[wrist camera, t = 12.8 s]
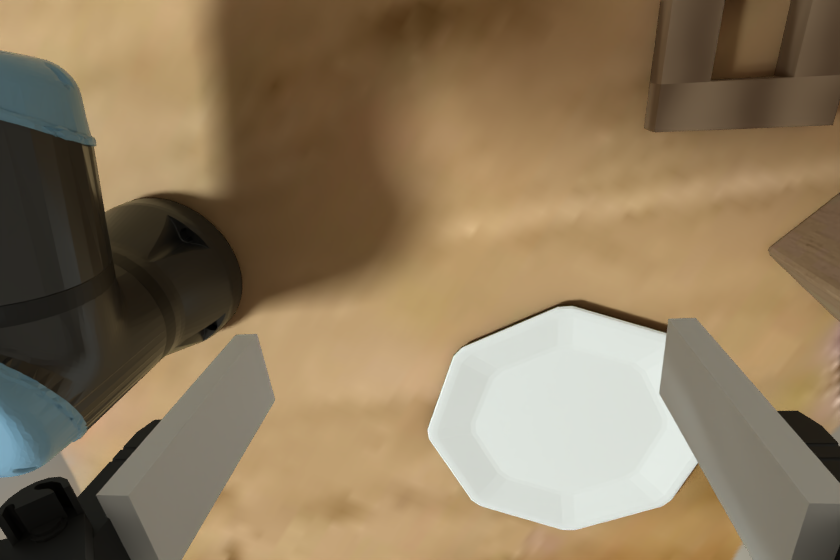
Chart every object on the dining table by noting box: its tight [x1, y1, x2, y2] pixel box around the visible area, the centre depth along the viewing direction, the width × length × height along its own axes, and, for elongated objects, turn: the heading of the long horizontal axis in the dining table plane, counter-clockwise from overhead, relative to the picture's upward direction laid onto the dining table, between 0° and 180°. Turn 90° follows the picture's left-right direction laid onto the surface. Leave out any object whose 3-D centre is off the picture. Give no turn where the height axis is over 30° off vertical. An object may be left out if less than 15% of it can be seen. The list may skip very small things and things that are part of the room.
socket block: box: [644, 0, 840, 132], centre depth 33 cm, size 12×12×2 cm
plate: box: [428, 305, 698, 530], centre depth 50 cm, size 28×28×2 cm
